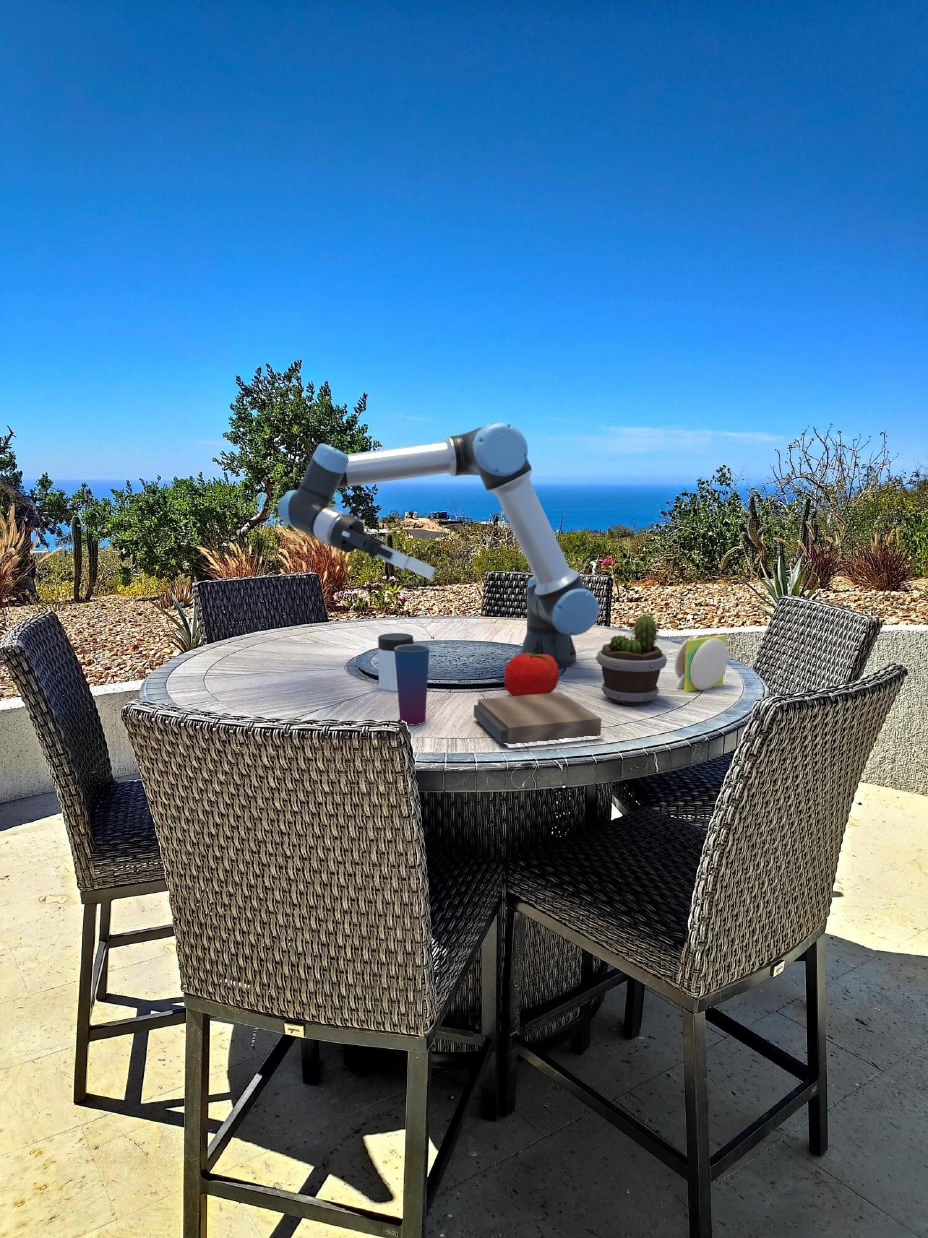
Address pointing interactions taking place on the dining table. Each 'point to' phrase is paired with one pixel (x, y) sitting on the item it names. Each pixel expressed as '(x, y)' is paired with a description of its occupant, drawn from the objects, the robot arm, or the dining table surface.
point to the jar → (390, 658)
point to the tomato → (531, 674)
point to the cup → (412, 681)
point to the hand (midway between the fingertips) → (420, 568)
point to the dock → (536, 718)
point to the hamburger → (701, 663)
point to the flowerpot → (632, 665)
